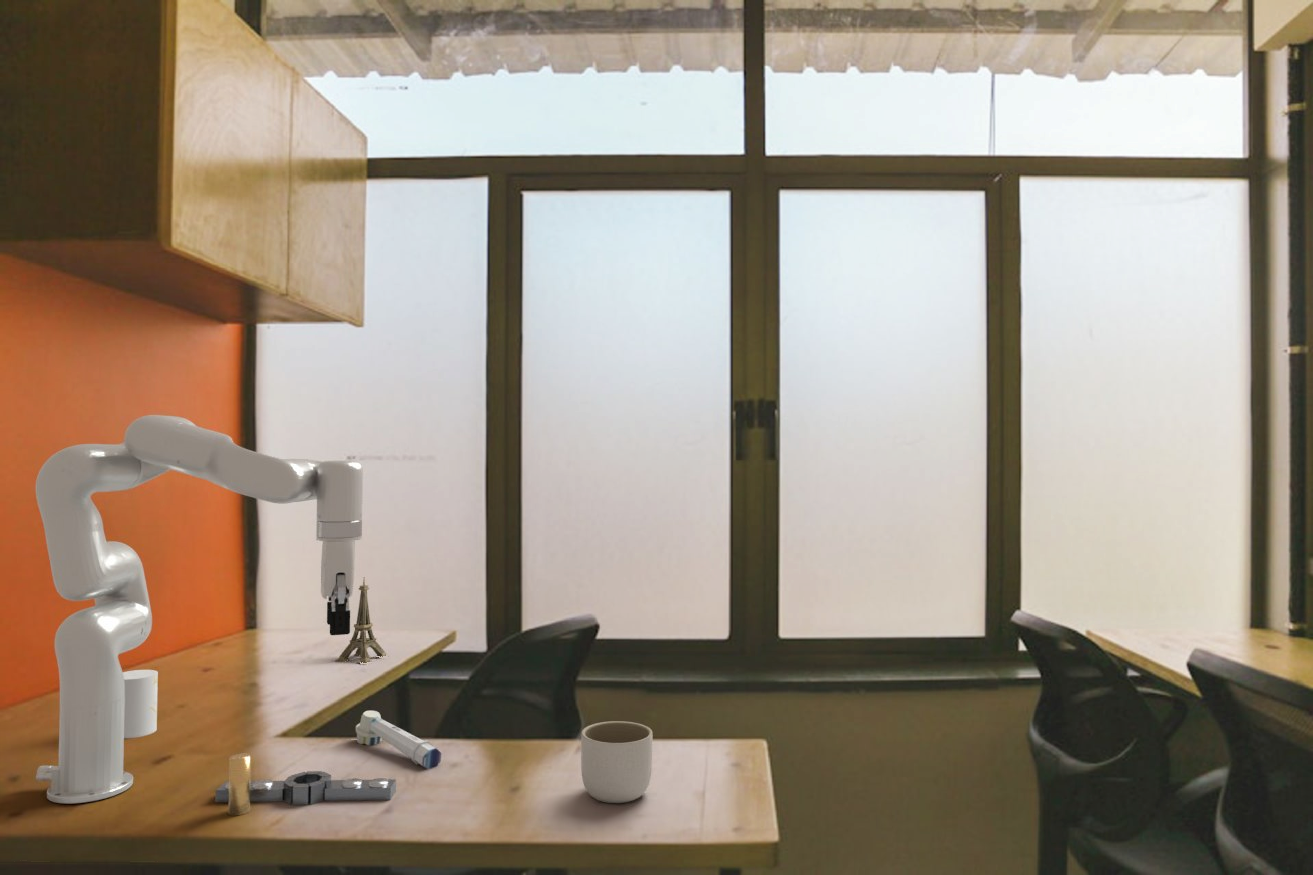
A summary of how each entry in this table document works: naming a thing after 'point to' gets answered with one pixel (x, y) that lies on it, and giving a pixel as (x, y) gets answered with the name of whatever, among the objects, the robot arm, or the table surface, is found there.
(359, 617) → the eiffel tower
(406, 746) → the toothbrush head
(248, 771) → the pin
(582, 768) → the planter
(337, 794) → the studded octagon ring bar
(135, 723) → the cup
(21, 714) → the table surface
